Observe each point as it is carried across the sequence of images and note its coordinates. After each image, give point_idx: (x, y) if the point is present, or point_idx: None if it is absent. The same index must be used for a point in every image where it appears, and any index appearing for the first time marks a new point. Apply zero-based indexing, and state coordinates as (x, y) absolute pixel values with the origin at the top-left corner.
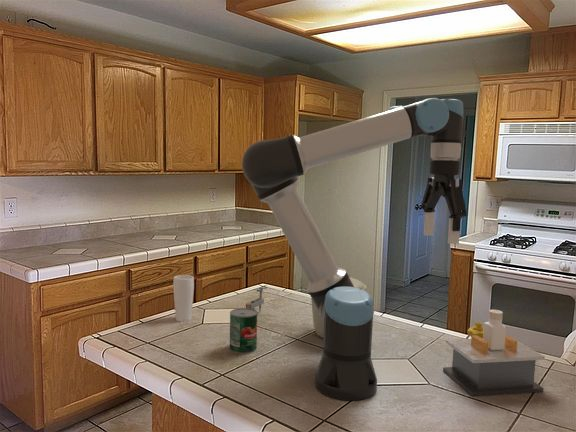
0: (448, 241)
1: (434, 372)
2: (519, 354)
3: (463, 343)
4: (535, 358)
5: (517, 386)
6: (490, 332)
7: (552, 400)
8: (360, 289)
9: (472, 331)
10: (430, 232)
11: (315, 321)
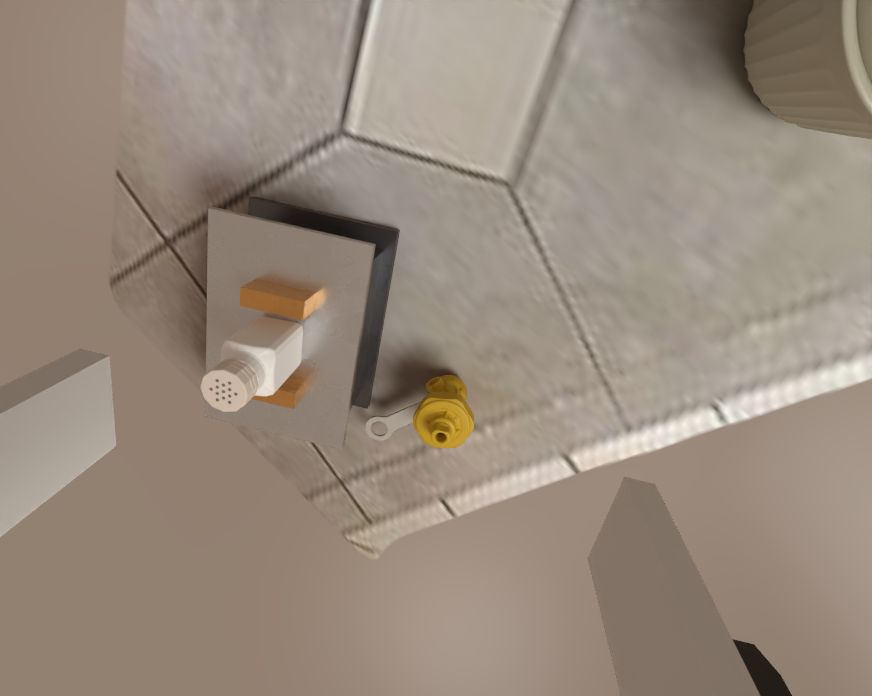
0: (77, 361)
1: (400, 199)
2: None
3: (331, 279)
4: None
5: None
6: (241, 333)
7: None
8: (867, 54)
9: (438, 400)
10: (608, 558)
11: None
